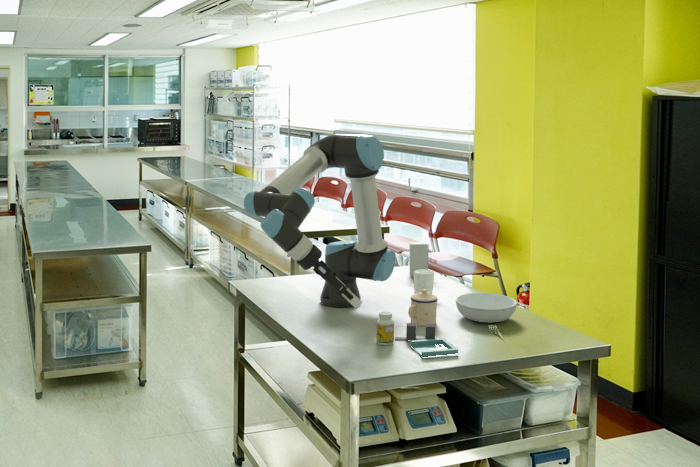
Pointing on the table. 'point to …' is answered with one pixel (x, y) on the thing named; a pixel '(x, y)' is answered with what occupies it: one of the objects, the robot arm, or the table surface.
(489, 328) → the fork
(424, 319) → the teacup with lid
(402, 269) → the table surface
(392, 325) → the supplement bottle
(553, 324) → the table surface
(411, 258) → the skincare box
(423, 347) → the open-sided tray holder
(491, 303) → the serving bowl
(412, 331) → the clip posts
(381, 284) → the table surface
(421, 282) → the white cup
